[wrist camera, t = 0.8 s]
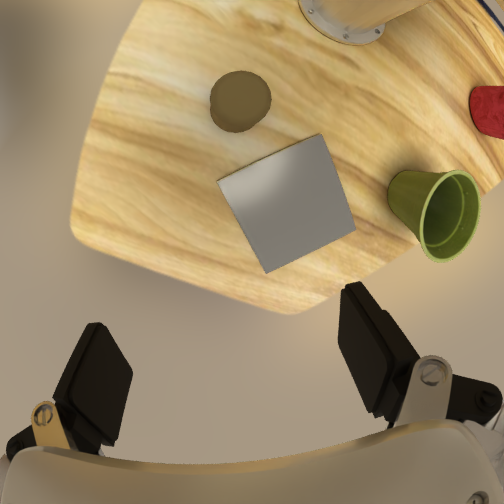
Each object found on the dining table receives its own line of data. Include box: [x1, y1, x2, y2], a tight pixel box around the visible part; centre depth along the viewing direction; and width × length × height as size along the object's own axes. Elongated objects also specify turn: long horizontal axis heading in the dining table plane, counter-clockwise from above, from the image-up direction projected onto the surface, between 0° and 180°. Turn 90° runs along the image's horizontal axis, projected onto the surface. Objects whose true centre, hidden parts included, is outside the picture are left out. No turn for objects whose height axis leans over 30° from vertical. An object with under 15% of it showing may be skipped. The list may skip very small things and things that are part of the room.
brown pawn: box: [210, 71, 272, 133], centre depth 24 cm, size 6×6×11 cm
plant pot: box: [388, 170, 481, 263], centre depth 30 cm, size 12×12×11 cm
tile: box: [217, 134, 356, 274], centre depth 34 cm, size 14×14×1 cm
